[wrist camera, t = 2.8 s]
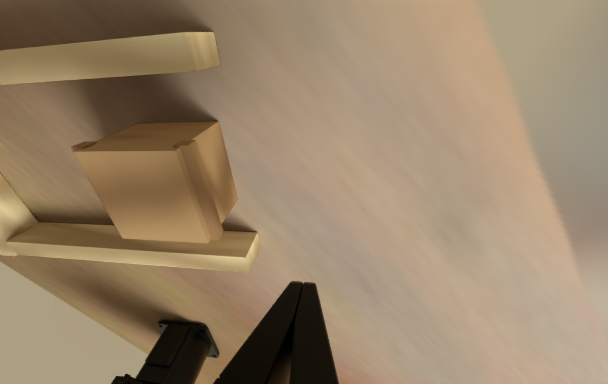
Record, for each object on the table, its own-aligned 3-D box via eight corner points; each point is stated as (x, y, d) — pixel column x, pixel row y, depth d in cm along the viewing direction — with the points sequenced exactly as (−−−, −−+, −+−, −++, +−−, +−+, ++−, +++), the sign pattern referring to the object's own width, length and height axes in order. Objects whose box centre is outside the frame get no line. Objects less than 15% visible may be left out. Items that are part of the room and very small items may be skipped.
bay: (260, 246, 22) (229, 319, 16) (24, 233, 26) (-64, 286, 21) (213, 32, 14) (120, 32, 8) (-117, 64, 18) (-322, 78, 13)
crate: (244, 199, 20) (215, 245, 15) (164, 197, 21) (117, 239, 17) (225, 119, 16) (182, 148, 12) (132, 121, 18) (63, 150, 13)
